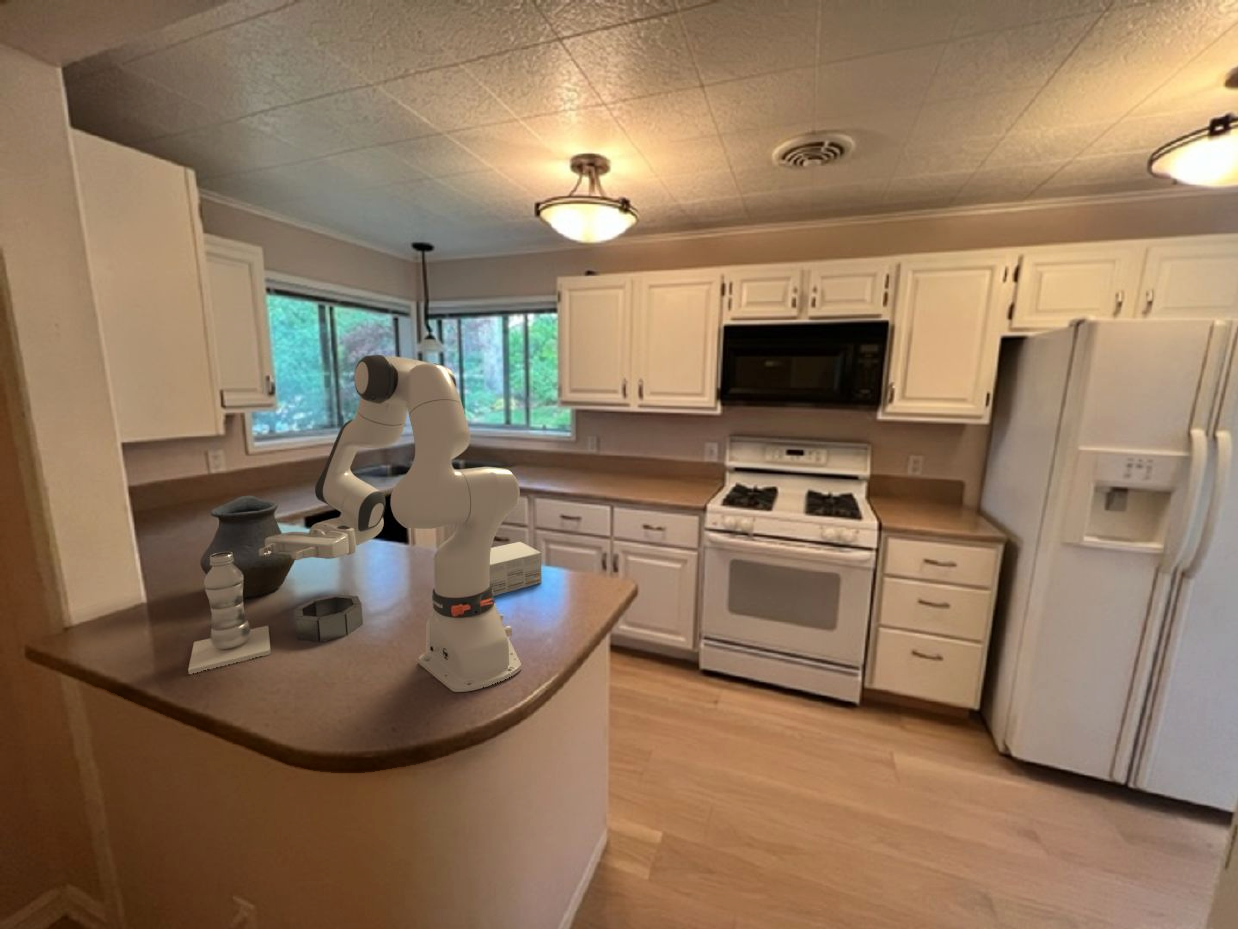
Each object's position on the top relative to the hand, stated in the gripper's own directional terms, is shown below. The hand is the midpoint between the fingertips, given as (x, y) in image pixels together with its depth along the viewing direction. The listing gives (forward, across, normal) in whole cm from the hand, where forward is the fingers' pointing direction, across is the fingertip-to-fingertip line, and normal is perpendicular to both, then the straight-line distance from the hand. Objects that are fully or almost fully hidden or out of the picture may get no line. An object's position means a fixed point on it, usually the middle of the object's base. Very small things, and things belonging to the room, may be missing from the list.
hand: (277, 555), depth 114 cm
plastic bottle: (+12, -1, +16) cm, 20 cm away
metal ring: (-2, +10, +17) cm, 20 cm away
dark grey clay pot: (-13, -26, +17) cm, 33 cm away
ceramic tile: (+12, -1, +17) cm, 21 cm away
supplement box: (-38, +36, +18) cm, 56 cm away
